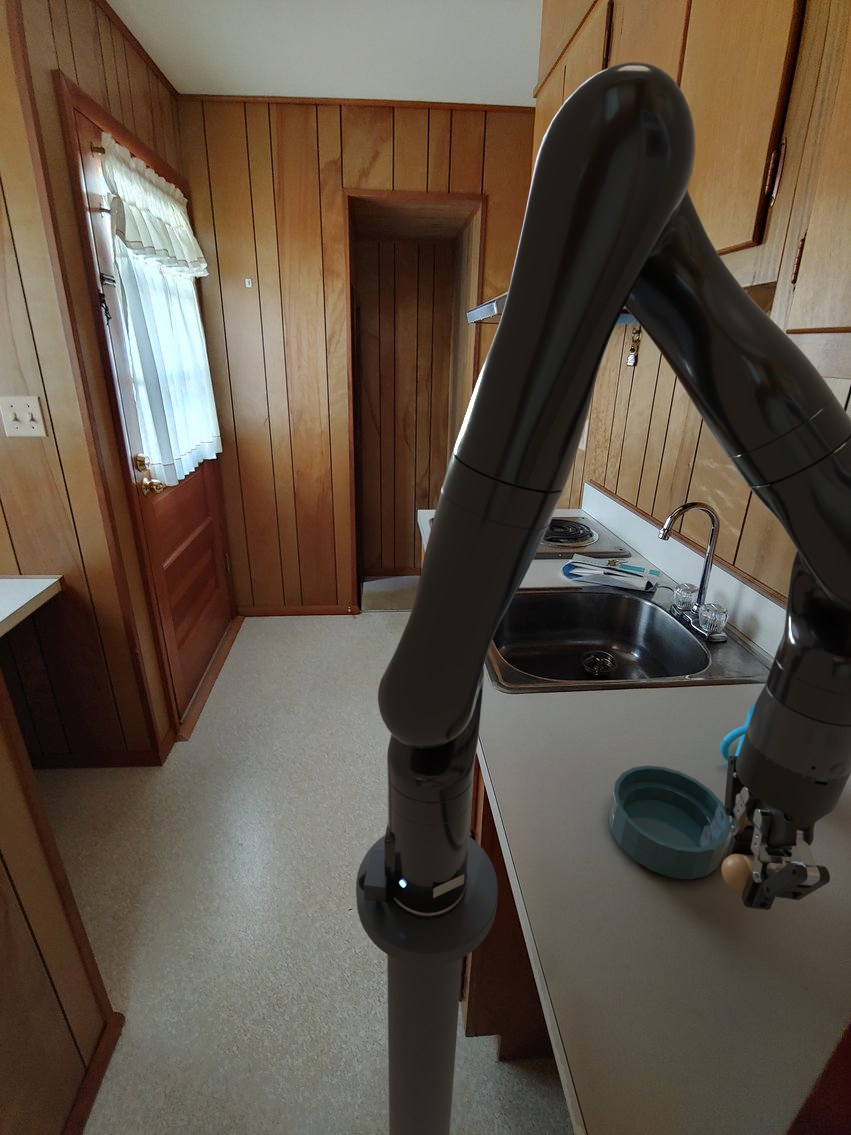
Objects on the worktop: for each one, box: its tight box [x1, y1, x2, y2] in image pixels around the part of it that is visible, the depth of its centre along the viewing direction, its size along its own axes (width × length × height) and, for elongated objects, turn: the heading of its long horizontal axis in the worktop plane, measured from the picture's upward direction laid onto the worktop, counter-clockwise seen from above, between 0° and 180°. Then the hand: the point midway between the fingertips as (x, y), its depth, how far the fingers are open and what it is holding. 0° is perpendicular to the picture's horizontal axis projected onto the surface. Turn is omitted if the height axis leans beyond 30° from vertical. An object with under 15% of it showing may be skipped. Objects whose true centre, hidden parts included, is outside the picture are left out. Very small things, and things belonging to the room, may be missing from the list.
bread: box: [721, 854, 774, 895], centre depth 52 cm, size 5×3×3 cm
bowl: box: [607, 765, 731, 880], centre depth 68 cm, size 13×13×5 cm
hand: (745, 884), depth 52 cm, fingers closed on bread, 3 cm apart
